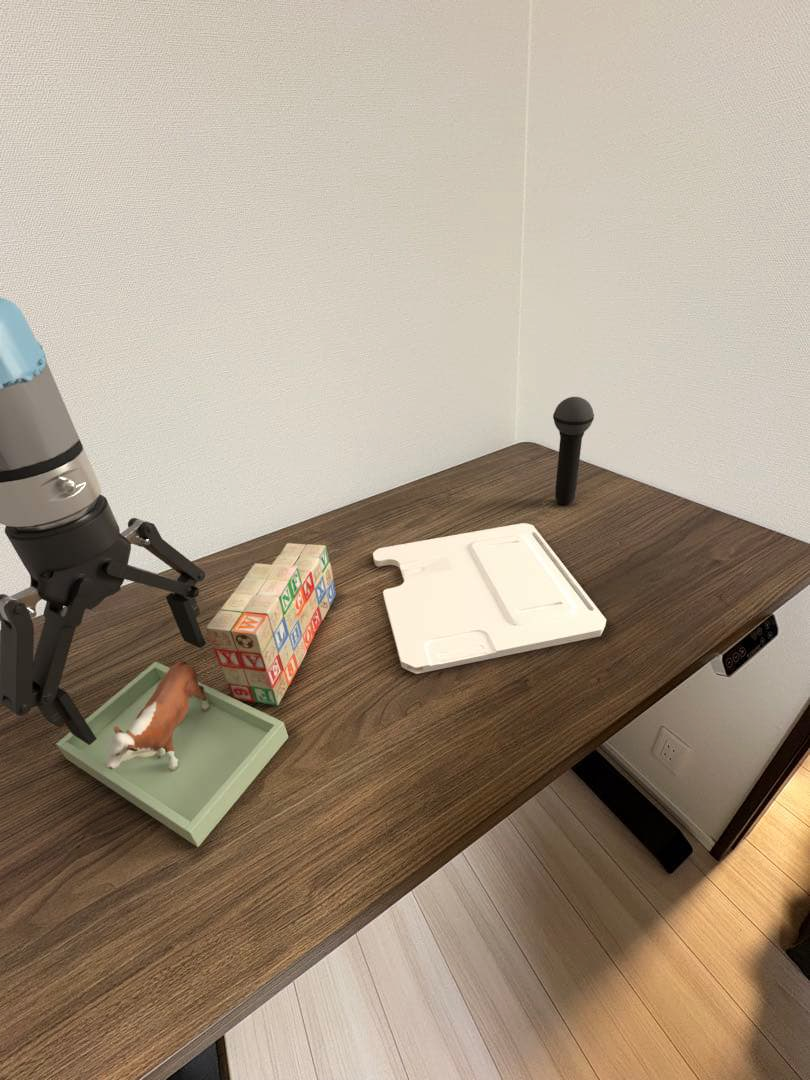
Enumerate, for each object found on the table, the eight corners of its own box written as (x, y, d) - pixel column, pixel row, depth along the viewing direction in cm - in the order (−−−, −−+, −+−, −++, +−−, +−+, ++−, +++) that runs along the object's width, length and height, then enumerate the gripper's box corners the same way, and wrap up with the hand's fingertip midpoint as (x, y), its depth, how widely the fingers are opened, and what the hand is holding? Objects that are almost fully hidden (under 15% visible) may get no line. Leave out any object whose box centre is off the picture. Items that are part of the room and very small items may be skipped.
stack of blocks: (299, 591, 83) (283, 524, 76) (337, 594, 81) (324, 527, 74) (232, 700, 65) (203, 626, 59) (278, 707, 64) (255, 632, 57)
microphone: (540, 506, 98) (548, 401, 87) (554, 491, 103) (563, 389, 92) (575, 514, 95) (588, 407, 84) (588, 498, 99) (602, 394, 88)
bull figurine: (121, 796, 55) (86, 751, 51) (191, 693, 66) (167, 647, 61) (157, 804, 54) (124, 758, 50) (222, 697, 65) (200, 651, 60)
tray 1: (65, 758, 60) (55, 743, 59) (162, 675, 70) (155, 661, 68) (198, 847, 51) (189, 832, 49) (288, 737, 60) (284, 722, 59)
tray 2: (404, 676, 66) (403, 668, 66) (372, 553, 90) (371, 546, 89) (611, 633, 70) (612, 625, 69) (528, 526, 93) (529, 518, 92)
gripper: (-104, 616, 32) (49, 806, 44) (203, 453, 50) (254, 620, 62) (-154, 585, 36) (1, 769, 48) (150, 442, 53) (208, 603, 65)
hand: (144, 685), depth 55 cm, fingers open, 13 cm apart
